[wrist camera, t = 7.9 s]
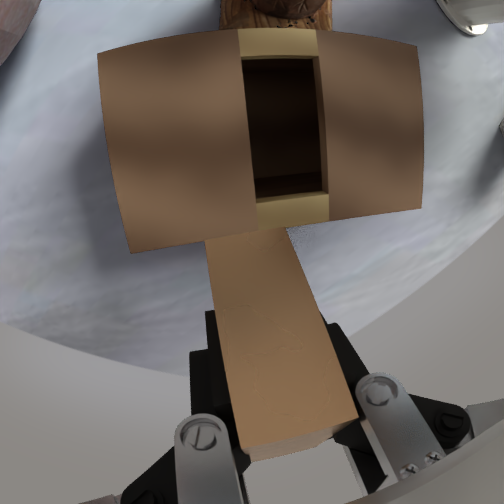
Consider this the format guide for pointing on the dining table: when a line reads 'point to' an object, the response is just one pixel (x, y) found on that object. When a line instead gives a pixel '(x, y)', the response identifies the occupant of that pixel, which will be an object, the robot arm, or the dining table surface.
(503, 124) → the perfume bottle
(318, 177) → the box
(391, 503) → the robot arm
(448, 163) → the dining table surface
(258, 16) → the bird sculpture
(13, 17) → the plant pot
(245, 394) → the tan flat square block
